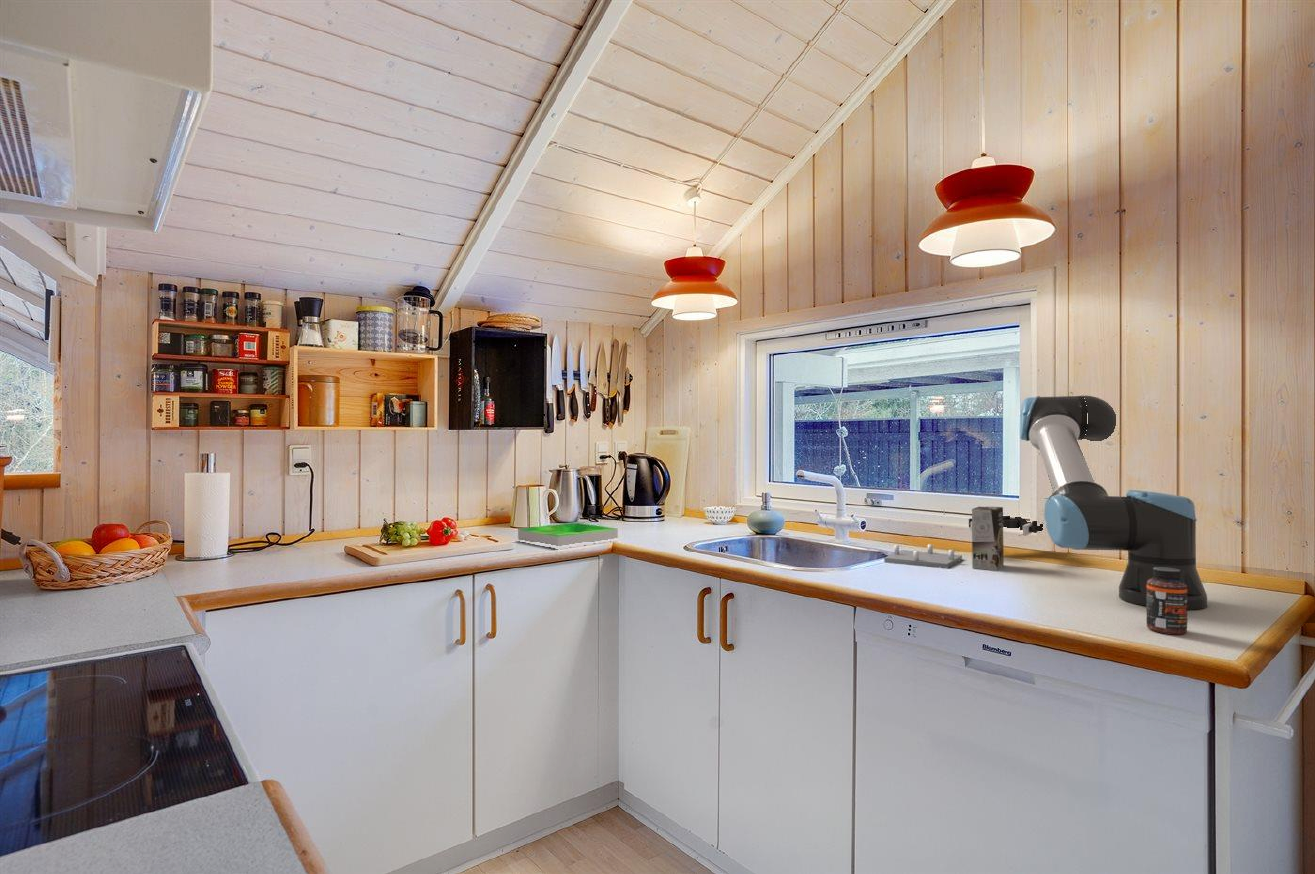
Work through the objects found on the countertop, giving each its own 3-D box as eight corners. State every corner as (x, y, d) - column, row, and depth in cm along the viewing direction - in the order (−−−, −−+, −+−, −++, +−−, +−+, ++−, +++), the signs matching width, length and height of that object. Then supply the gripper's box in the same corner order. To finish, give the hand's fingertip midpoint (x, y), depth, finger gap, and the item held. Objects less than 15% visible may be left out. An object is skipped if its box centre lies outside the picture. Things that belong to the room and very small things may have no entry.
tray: (558, 551, 222) (558, 536, 222) (518, 543, 241) (517, 529, 241) (617, 542, 239) (617, 528, 239) (576, 535, 258) (575, 522, 258)
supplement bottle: (1168, 636, 120) (1167, 572, 120) (1138, 627, 126) (1137, 566, 126) (1196, 634, 121) (1195, 570, 121) (1165, 625, 127) (1164, 564, 127)
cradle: (947, 568, 183) (947, 554, 183) (884, 561, 194) (884, 548, 194) (962, 559, 196) (961, 546, 196) (902, 553, 206) (902, 541, 206)
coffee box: (997, 571, 179) (997, 509, 179) (971, 568, 183) (970, 508, 183) (1004, 565, 186) (1004, 506, 186) (979, 563, 190) (978, 505, 190)
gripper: (1065, 537, 199) (1047, 546, 183) (975, 529, 216) (951, 537, 200) (1065, 511, 199) (1047, 518, 183) (975, 506, 216) (951, 512, 200)
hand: (997, 528), depth 191 cm, fingers open, 13 cm apart
